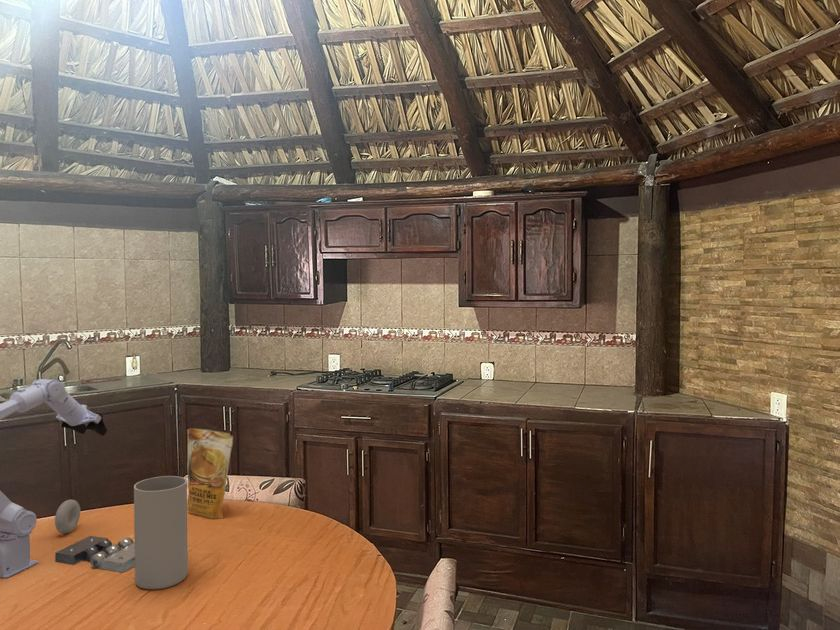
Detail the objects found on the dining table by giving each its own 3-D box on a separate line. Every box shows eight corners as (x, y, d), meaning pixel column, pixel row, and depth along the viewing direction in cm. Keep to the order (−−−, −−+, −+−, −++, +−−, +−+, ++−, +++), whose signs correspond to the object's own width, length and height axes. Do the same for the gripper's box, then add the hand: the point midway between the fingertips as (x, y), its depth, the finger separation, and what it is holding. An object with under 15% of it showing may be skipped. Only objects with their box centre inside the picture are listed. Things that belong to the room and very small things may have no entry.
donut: (63, 539, 180) (63, 506, 180) (52, 538, 180) (51, 506, 180) (83, 526, 190) (82, 494, 189) (72, 526, 190) (71, 494, 190)
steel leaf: (122, 573, 158) (122, 559, 158) (89, 567, 161) (88, 554, 161) (156, 553, 171) (155, 540, 170) (124, 548, 174) (124, 536, 173)
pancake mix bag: (195, 505, 209) (194, 425, 208) (235, 515, 200) (235, 431, 199) (179, 511, 203) (178, 429, 202) (220, 522, 194) (219, 436, 193)
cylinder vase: (137, 572, 159) (136, 478, 158) (187, 565, 163) (187, 474, 163) (132, 594, 147) (131, 493, 146) (187, 586, 152) (186, 488, 151)
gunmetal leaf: (86, 566, 162) (85, 553, 162) (55, 561, 165) (55, 548, 165) (119, 548, 174) (119, 536, 173) (90, 544, 176) (90, 532, 176)
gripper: (94, 397, 177) (120, 422, 187) (55, 395, 181) (82, 419, 191) (81, 417, 173) (108, 442, 182) (41, 415, 177) (70, 439, 186)
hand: (94, 432), depth 186 cm, fingers open, 7 cm apart
